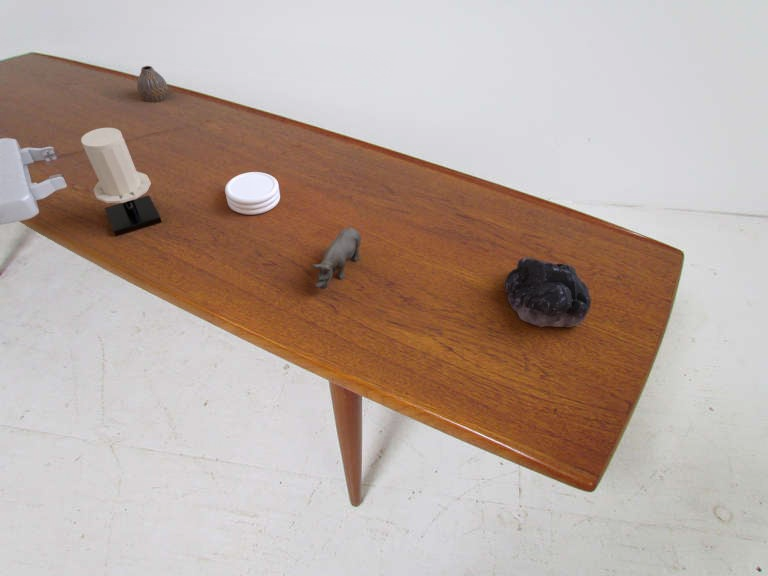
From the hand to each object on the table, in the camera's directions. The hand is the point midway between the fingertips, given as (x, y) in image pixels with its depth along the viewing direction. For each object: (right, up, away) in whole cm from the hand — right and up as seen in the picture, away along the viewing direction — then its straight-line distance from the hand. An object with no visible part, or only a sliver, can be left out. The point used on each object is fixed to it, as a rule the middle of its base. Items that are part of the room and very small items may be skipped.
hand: (59, 165), depth 80 cm
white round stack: (+27, -3, +17) cm, 32 cm away
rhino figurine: (+44, -17, +3) cm, 47 cm away
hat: (+6, -2, +7) cm, 10 cm away
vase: (-5, +26, +45) cm, 52 cm away
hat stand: (+6, -7, +12) cm, 15 cm away
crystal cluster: (+78, -22, -1) cm, 81 cm away
